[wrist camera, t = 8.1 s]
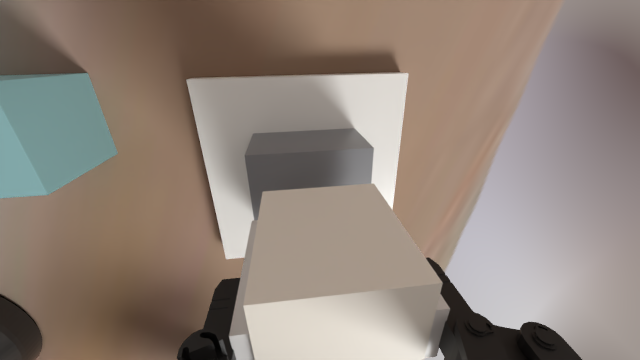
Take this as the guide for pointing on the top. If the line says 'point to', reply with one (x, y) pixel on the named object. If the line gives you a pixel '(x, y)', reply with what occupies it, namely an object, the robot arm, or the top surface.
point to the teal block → (49, 132)
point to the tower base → (289, 112)
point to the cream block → (337, 279)
